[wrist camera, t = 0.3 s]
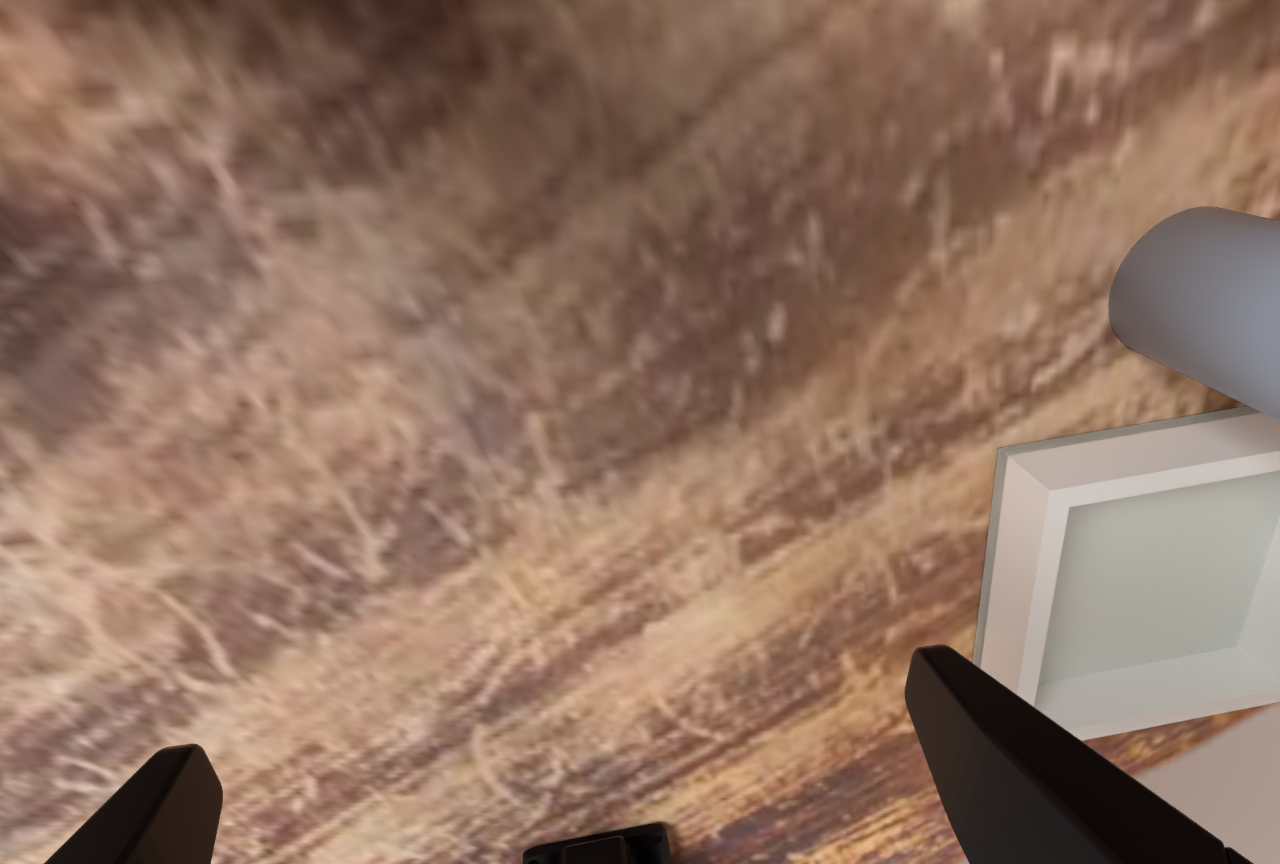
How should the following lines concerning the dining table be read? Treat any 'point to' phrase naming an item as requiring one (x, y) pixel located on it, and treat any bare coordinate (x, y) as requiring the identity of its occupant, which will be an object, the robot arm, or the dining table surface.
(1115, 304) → the slate capsule
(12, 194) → the dining table surface
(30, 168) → the dining table surface
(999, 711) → the robot arm
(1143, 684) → the shallow square tray
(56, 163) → the dining table surface
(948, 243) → the dining table surface
